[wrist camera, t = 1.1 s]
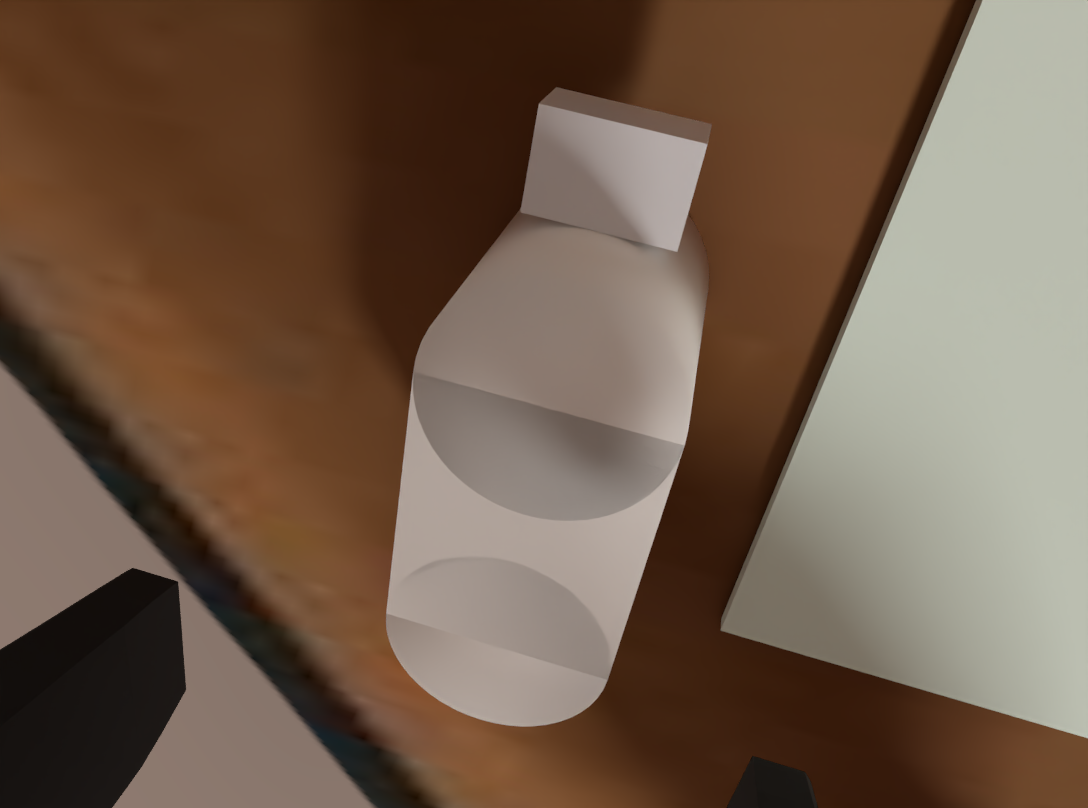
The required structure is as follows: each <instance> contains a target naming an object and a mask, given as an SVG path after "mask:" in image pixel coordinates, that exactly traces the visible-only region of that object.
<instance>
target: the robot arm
mask: <svg viewBox="0 0 1088 808" xmlns="http://www.w3.org/2000/svg"><path fill="white" fill-rule="evenodd" d="M185 690H186V683H185V669H184V656H183V643H182V629H181V616H180V602H179V588H178V582H177V581H174V580H171V579H168V578H164V577H161V576H158V575H154V574H151V573H148V572H145V571H141V570H138V569H134V568H132V569H130V570H128V571H126V572H124V573H123V574H121V575H120V576H118V577H116V578H115V579H113V580H112V581H110V582H108V583H106V584H105V585H103V586H102V587H100V588H98V589H97V590H95V591H94V592H92V593H90V594H89V595H87V596H86V597H84V598H82V599H81V600H79V601H78V602H76V603H74V604H73V605H71V606H70V607H68V608H67V609H65V610H63V611H62V612H60V613H59V614H57V615H55V616H54V617H52V618H51V619H49V620H47V621H46V622H44V623H43V624H41V625H40V626H38V627H36V628H35V629H33V630H31V631H30V632H28V633H27V634H25V635H23V636H22V637H20V638H19V639H17V640H15V641H14V642H12V643H10V644H9V645H7V646H5V647H4V648H2V649H1V650H0V808H112V807H113V806H114V804H115V803H116V802H117V800H118V799H119V797H120V796H121V795H122V793H123V792H124V791H125V789H126V788H127V787H128V785H129V784H130V782H131V781H132V779H133V778H134V777H135V775H136V774H137V772H138V771H139V770H140V768H141V767H142V765H143V764H144V762H145V760H146V759H147V757H148V755H149V753H150V752H151V750H152V749H153V747H154V745H155V743H156V742H157V740H158V738H159V737H160V735H161V733H162V732H163V730H164V728H165V726H166V724H167V723H168V721H169V719H170V717H171V716H172V714H173V712H174V710H175V708H176V707H177V705H178V703H179V701H180V700H181V697H182V696H183V694H184V692H185ZM727 808H818V806H817V802H816V799H815V795H814V792H813V788H812V785H811V781H810V779H809V778H808V776H807V775H806V773H805V772H804V771H800V770H797V769H794V768H790V767H787V766H784V765H781V764H777V763H774V762H771V761H767V760H764V759H761V758H757V757H754V756H752V758H751V760H750V762H749V764H748V766H747V768H746V770H745V772H744V774H743V776H742V778H741V780H740V782H739V784H738V786H737V788H736V790H735V792H734V794H733V796H732V798H731V800H730V802H729V804H728V806H727Z"/></svg>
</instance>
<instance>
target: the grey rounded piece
mask: <svg viewBox="0 0 1088 808" xmlns="http://www.w3.org/2000/svg"><path fill="white" fill-rule="evenodd" d="M711 127H712V124H709V123H705V122H701V121H696V120H692V119H688V118H684V117H680V116H675V115H671V114H667V113H663V112H659V111H655V110H650V109H646V108H642V107H638V106H634V105H629V104H625V103H621V102H617V101H613V100H608V99H604V98H600V97H596V96H592V95H587V94H583V93H579V92H575V91H571V90H566V89H562V88H558V87H556V88H555V89H554V90H553V91H552V92H551V93H549V94H548V95H547V96H546V97H545V98H544V99H543V100H542V101H541V102H540V103H539V106H538V111H537V117H536V123H535V129H534V135H533V141H532V147H531V153H530V158H529V164H528V170H527V176H526V182H525V188H524V194H523V199H522V205H521V208H520V210H519V211H518V212H517V214H516V215H515V216H514V217H513V219H512V220H511V221H510V223H509V224H508V225H507V227H506V228H505V229H504V230H503V232H502V233H501V234H500V236H499V237H498V238H497V240H496V241H495V242H494V243H493V245H492V246H491V247H490V249H489V250H488V251H487V253H486V254H485V255H484V256H483V258H482V259H481V260H480V262H479V263H478V264H477V266H476V267H475V268H474V269H473V271H472V272H471V273H470V275H469V276H468V277H467V279H466V280H465V281H464V283H463V284H462V285H461V286H460V288H459V289H458V290H457V292H456V293H455V294H454V296H453V297H452V298H451V299H450V301H449V302H448V303H447V305H446V306H445V307H444V309H443V310H442V311H441V312H440V314H439V315H438V316H437V318H436V319H435V320H434V322H433V323H432V324H431V325H430V327H429V328H428V330H427V332H426V334H425V336H424V338H423V339H422V341H421V344H420V347H419V350H418V352H417V355H416V360H415V365H414V370H413V378H412V387H411V396H410V405H409V414H408V423H407V432H406V441H405V450H404V459H403V468H402V477H401V486H400V495H399V504H398V512H397V521H396V530H395V539H394V548H393V557H392V566H391V575H390V584H389V593H388V602H387V611H386V628H387V634H388V638H389V641H390V644H391V647H392V649H393V651H394V653H395V655H396V657H397V659H398V660H399V662H400V663H401V665H402V667H403V668H404V669H405V670H406V672H407V673H408V674H409V675H410V676H411V677H412V678H413V679H414V680H415V681H416V682H417V683H418V684H419V685H420V686H421V687H422V688H423V689H424V690H426V691H427V692H428V693H429V694H431V695H432V696H433V697H435V698H436V699H438V700H439V701H441V702H442V703H444V704H446V705H448V706H450V707H451V708H453V709H455V710H457V711H460V712H462V713H464V714H466V715H469V716H472V717H475V718H477V719H480V720H484V721H488V722H492V723H497V724H502V725H509V726H541V725H548V724H553V723H557V722H561V721H563V720H566V719H569V718H571V717H573V716H575V715H577V714H579V713H581V712H582V711H584V710H585V709H586V708H588V707H589V706H590V705H591V704H592V703H593V702H594V701H595V700H596V699H597V698H598V697H599V695H600V694H601V692H602V691H603V689H604V687H605V685H606V683H607V680H608V677H609V674H610V671H611V668H612V665H613V662H614V659H615V656H616V653H617V650H618V647H619V644H620V641H621V638H622V635H623V632H624V629H625V626H626V622H627V619H628V616H629V613H630V610H631V607H632V604H633V601H634V598H635V595H636V592H637V589H638V586H639V583H640V580H641V577H642V574H643V571H644V568H645V565H646V562H647V559H648V556H649V552H650V549H651V546H652V543H653V540H654V537H655V534H656V531H657V528H658V525H659V522H660V519H661V516H662V513H663V510H664V507H665V504H666V501H667V498H668V495H669V492H670V489H671V486H672V482H673V479H674V476H675V473H676V470H677V467H678V464H679V461H680V458H681V455H682V452H683V449H684V446H685V442H686V438H687V434H688V429H689V422H690V415H691V408H692V401H693V394H694V387H695V380H696V372H697V365H698V358H699V351H700V344H701V337H702V330H703V323H704V316H705V309H706V301H707V294H708V286H709V263H708V258H707V253H706V249H705V246H704V243H703V240H702V237H701V235H700V233H699V231H698V229H697V227H696V225H695V224H694V222H693V221H692V219H691V218H690V216H689V215H688V212H689V208H690V205H691V201H692V198H693V194H694V191H695V187H696V183H697V180H698V176H699V173H700V169H701V166H702V162H703V159H704V155H705V151H706V148H707V144H708V140H709V135H710V131H711Z"/></svg>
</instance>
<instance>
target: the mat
mask: <svg viewBox="0 0 1088 808" xmlns="http://www.w3.org/2000/svg"><path fill="white" fill-rule="evenodd" d="M721 631H723V632H727V633H730V634H734V635H737V636H740V637H744V638H747V639H751V640H754V641H758V642H761V643H764V644H768V645H771V646H775V647H778V648H781V649H785V650H788V651H792V652H795V653H799V654H802V655H805V656H809V657H812V658H816V659H819V660H822V661H826V662H829V663H833V664H836V665H840V666H843V667H846V668H850V669H853V670H857V671H860V672H863V673H867V674H870V675H874V676H877V677H881V678H884V679H887V680H891V681H894V682H898V683H901V684H904V685H908V686H911V687H915V688H918V689H922V690H925V691H928V692H932V693H935V694H939V695H942V696H945V697H949V698H952V699H956V700H959V701H963V702H966V703H969V704H973V705H976V706H980V707H983V708H986V709H990V710H993V711H997V712H1000V713H1004V714H1007V715H1010V716H1014V717H1017V718H1021V719H1024V720H1027V721H1031V722H1034V723H1038V724H1041V725H1045V726H1048V727H1051V728H1055V729H1058V730H1062V731H1065V732H1068V733H1072V734H1075V735H1079V736H1082V737H1086V738H1088V0H976V1H975V4H974V6H973V9H972V11H971V14H970V16H969V18H968V21H967V23H966V26H965V28H964V31H963V33H962V35H961V38H960V40H959V43H958V45H957V48H956V50H955V52H954V55H953V57H952V60H951V62H950V65H949V67H948V69H947V72H946V74H945V77H944V79H943V82H942V84H941V86H940V89H939V91H938V94H937V96H936V99H935V101H934V103H933V106H932V108H931V111H930V113H929V116H928V118H927V120H926V123H925V125H924V128H923V130H922V132H921V135H920V137H919V140H918V142H917V145H916V147H915V149H914V152H913V154H912V157H911V159H910V162H909V164H908V166H907V169H906V171H905V174H904V176H903V179H902V181H901V183H900V186H899V188H898V191H897V193H896V196H895V198H894V200H893V203H892V205H891V208H890V210H889V213H888V215H887V217H886V220H885V222H884V225H883V227H882V230H881V232H880V234H879V237H878V239H877V242H876V244H875V247H874V249H873V251H872V254H871V256H870V259H869V261H868V264H867V266H866V268H865V271H864V273H863V276H862V278H861V280H860V283H859V285H858V288H857V290H856V293H855V295H854V297H853V300H852V302H851V305H850V307H849V310H848V312H847V314H846V317H845V319H844V322H843V324H842V327H841V329H840V331H839V334H838V336H837V339H836V341H835V344H834V346H833V348H832V351H831V353H830V356H829V358H828V361H827V363H826V365H825V368H824V370H823V373H822V375H821V378H820V380H819V382H818V385H817V387H816V390H815V392H814V395H813V397H812V399H811V402H810V404H809V407H808V409H807V412H806V414H805V416H804V419H803V421H802V424H801V426H800V428H799V431H798V433H797V436H796V438H795V441H794V443H793V445H792V448H791V450H790V453H789V455H788V458H787V460H786V462H785V465H784V467H783V470H782V472H781V475H780V477H779V479H778V482H777V484H776V487H775V489H774V492H773V494H772V496H771V499H770V501H769V504H768V506H767V509H766V511H765V513H764V516H763V518H762V521H761V523H760V526H759V528H758V530H757V533H756V535H755V538H754V540H753V543H752V545H751V547H750V550H749V552H748V555H747V557H746V560H745V562H744V564H743V567H742V569H741V572H740V574H739V576H738V579H737V581H736V584H735V586H734V589H733V591H732V593H731V596H730V598H729V601H728V603H727V606H726V608H725V610H724V613H723V615H722V618H721Z"/></svg>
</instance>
